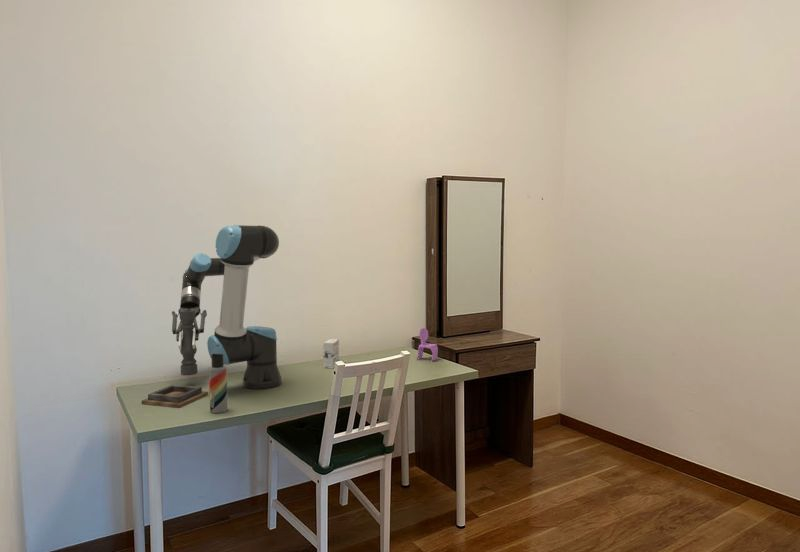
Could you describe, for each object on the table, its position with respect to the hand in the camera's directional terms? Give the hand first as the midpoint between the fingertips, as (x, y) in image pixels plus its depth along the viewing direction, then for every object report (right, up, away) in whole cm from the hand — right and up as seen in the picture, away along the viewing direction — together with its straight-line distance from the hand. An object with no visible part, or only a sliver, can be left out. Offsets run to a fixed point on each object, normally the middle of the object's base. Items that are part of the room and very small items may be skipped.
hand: (186, 347), depth 216 cm
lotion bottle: (+21, -19, -25) cm, 38 cm away
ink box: (+52, -14, +37) cm, 65 cm away
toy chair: (+96, -13, +49) cm, 108 cm away
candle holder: (-1, -11, +4) cm, 12 cm away
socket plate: (+1, -18, -12) cm, 21 cm away
